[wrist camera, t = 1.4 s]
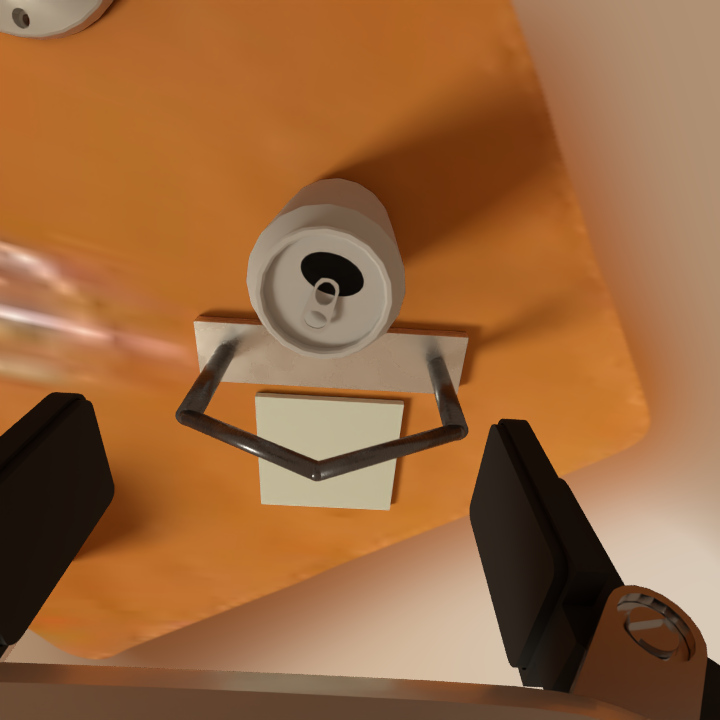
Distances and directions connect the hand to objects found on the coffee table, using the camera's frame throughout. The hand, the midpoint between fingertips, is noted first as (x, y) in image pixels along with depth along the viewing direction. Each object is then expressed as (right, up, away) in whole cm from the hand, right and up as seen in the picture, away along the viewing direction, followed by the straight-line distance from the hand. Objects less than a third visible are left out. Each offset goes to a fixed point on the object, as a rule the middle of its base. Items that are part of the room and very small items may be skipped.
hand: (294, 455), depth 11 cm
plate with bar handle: (-1, +3, +24) cm, 24 cm away
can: (0, +11, +19) cm, 22 cm away
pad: (-1, -6, +28) cm, 29 cm away
